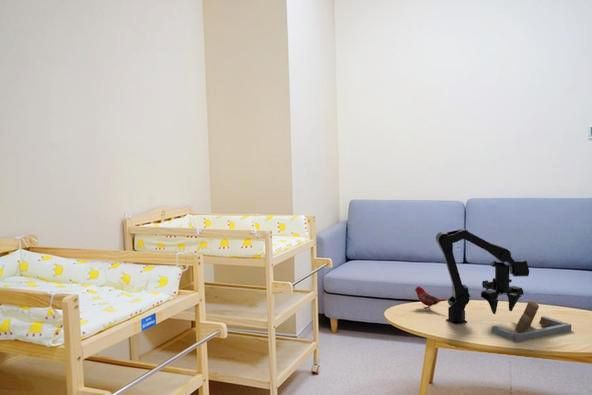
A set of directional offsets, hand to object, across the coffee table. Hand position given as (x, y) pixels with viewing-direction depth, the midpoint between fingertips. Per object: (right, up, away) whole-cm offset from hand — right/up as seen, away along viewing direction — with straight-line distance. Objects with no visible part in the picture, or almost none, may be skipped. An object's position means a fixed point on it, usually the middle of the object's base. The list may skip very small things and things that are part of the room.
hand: (502, 312), depth 221 cm
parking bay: (+6, -5, -13) cm, 15 cm away
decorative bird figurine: (-25, -4, +21) cm, 33 cm away
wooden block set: (+7, -5, -10) cm, 13 cm away
